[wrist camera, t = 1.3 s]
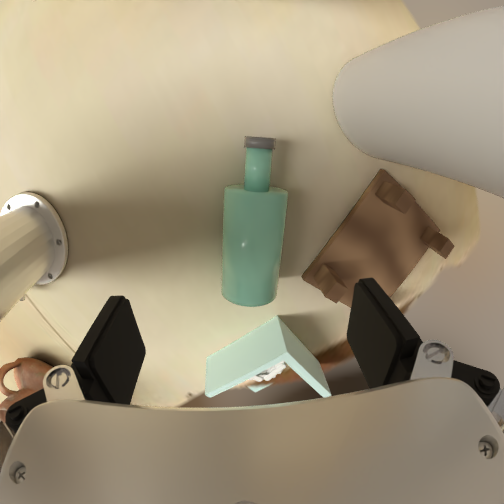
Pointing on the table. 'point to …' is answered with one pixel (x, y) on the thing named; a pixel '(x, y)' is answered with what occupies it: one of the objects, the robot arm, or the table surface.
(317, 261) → the rest
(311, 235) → the table surface
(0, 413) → the ceramic jug
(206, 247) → the table surface
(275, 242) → the bottle
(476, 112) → the cylinder vase
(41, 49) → the table surface
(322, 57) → the table surface
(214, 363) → the right angle wall
